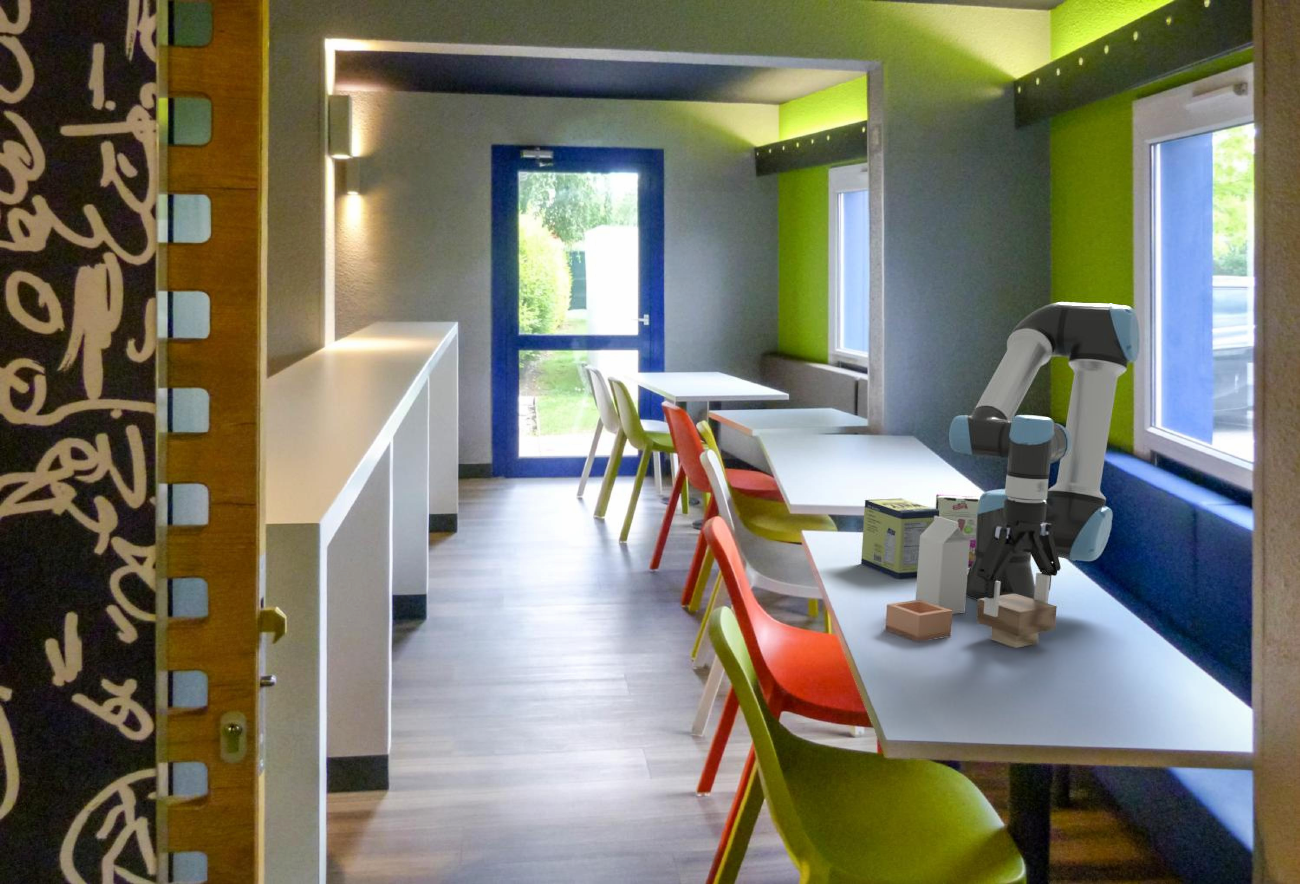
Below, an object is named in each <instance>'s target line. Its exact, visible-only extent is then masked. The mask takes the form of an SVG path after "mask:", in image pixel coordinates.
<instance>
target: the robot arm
mask: <svg viewBox="0 0 1300 884" xmlns="http://www.w3.org/2000/svg"><path fill="white" fill-rule="evenodd" d="M1139 353H1140V328H1139V320H1138V316H1137V313H1136V311H1135V310H1134V309H1133V308H1132V307H1131V306H1129V305H1121V304H1114V303H1087V302H1086V303H1084V302H1083V303H1082V302H1068V301H1065V302H1064V301H1060V302H1054V303H1050V304H1047V305H1044V306H1043V307H1041V308H1037V309H1036V310H1035V311H1033V312H1031V313H1030V314H1028V315H1027V316H1025V318H1023V319H1022V320H1021V321H1020V322H1019V323H1018V324H1017V325H1016V326H1015V327H1014V328H1013V330H1012V331H1011V333H1010V335H1009V337H1008V339H1007V340H1006V353H1004V356H1003V358H1002V359H1001V361H1000V363H999V365H998V367H997V368H996V370H995V372H994V373H993V376H992V377H991V378H990V380H989V383H988V384H987V386H986V388H985V389H984V391H983V393H982V395H981V397H980V399H979V401H978V402H977V404H976V406H975V408H974V409H973V411H972V412H971V414H970V415H968V414H964V415H961V414H960V415H957V416H955V417H954V418H953V419H952V421H951V424H950V427H949V431H948V432H949V433H948V438H949V439H948V441H949V446H950V448H951V449H952V450H953V451H954V452H955V453H960V454H964V455H965V454H966V455H970V456H978V457H986V458H987V457H989V458H990V457H991V458H996V459H997V458H998V459H999V458H1000V459H1001V458H1002V459H1007V467H1006V468H1007V470H1006V478H1005V486H1004V487H1005V488H1001V489H1000V488H999V489H993V490H988V491H985V492H983V493H982V494H981V495H980V496H979V497H980V499H979V507H978V511H977V528H976V542H975V555H974V560H973V562H972V565H971V567H969V569H968V575H967V588H966V597H969V598H971V599H974V600H977V601H978V599H981V598H985V602H984V614H987V615H990V616H994V617H998V607H999V596H1001V595H1007V594H1014V593H1015V594H1018V595H1021V596H1025V597H1028V598H1031V599H1035V600H1038V601H1041V602H1045V603H1048V604H1049V594H1050V590H1051V585H1052V583H1051V582H1052V576H1053V577H1056V576H1057V575H1058V571H1060V570H1061V562H1060V558H1062V559H1068V560H1070V561H1073V562H1074V561H1076V560H1077V561H1083V562H1092V561H1095V560H1097V559H1098V558H1099V557H1100V556H1101V555H1102V553H1103V552H1104V549H1105V548H1106V545H1107V543H1108V540H1109V537H1110V533H1111V531H1112V526H1113V523H1112V521H1113V517H1114V515H1113V510H1112V509H1111V508H1110V507H1108V506H1106V502H1107V498H1106V496H1104V494H1103V493H1102V492H1101V483H1102V479H1103V478H1102V477H1103V472H1104V471H1103V470H1104V465H1105V459H1106V453H1107V448H1108V447H1107V445H1108V440H1109V435H1110V434H1109V433H1110V428H1111V422H1112V421H1111V419H1112V415H1113V414H1112V413H1113V407H1114V402H1115V395H1116V390H1117V383H1118V378H1119V377H1121V376H1122V375H1123V374H1124V373H1125V372H1127V370H1128V363H1134V362H1136V361H1137V359H1138V357H1139V356H1138V355H1139ZM1053 357H1054V358H1055V357H1062V358H1068V366H1069V367H1070V369H1071V370H1072V371H1073V373H1074V375H1073V380H1072V387H1071V392H1070V393H1071V394H1070V399H1069V403H1068V404H1069V405H1068V412H1067V417H1066V424H1065V427H1064V426H1063V425H1061V424H1060V423H1057V422H1056V423H1055V422H1054V420H1053V419H1052V418H1050V417H1048V416H1042V415H1032V414H1031V415H1030V414H1024V415H1023V414H1017V411H1018V409H1019V407H1020V406H1021V403H1022V402H1023V400H1024V397H1025V396H1026V394H1027V392H1028V390H1029V388H1030V387H1031V385H1032V384H1033V381H1034V379H1035V378H1036V376H1037V373H1038V372H1039V370H1040V368H1041V367H1042V366H1044V365H1046V364H1047V363H1048V362H1049V361H1050V359H1051V358H1053ZM1015 414H1017V415H1015ZM1056 462H1059V466H1058V472H1057V473H1058V474H1057V479H1056V483H1055V484H1054V485H1053V486H1051V487H1050V488H1049V478H1050V471H1051V464H1054V463H1056ZM1032 559H1033V561H1034V563H1035V564H1036V567H1037V569H1038V570H1039V572H1036V573H1035V580H1034V573H1033V570H1032V564H1031V563H1032V562H1031V560H1032Z"/></svg>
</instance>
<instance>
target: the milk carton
mask: <svg viewBox="0 0 1300 884" xmlns="http://www.w3.org/2000/svg"><path fill="white" fill-rule="evenodd" d="M958 524H959V523H958V522H955V521H952V520H948V519H945V518H941V517H938V516H934V521H933V523H932V524H931V525H930V526H929V527H928V528H927V529H926V530H925V531H924V532H923V533H922V534H921V535H920V544H919V558H918V572H917V578H916V587H915V589H916V590H915V600H923V601H926V602H929V603H932V604H935V605H938V606H941V607H944V608H947V609H950V610H953V612H952V615H957V614H965V610H966V599H967V595H966V588H967V575H968V572H969V567H968V562H969V549H970V540H969V539H968V538H967V537H966V536H965V535H964V534H963V533H962V531H961V530H960V528H959V527H958Z"/></svg>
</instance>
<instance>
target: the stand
mask: <svg viewBox="0 0 1300 884" xmlns="http://www.w3.org/2000/svg"><path fill="white" fill-rule="evenodd" d="M990 631H991V632H990V640H992V641H995V642H996V643H997V642H998V643H1001V644H1004V645H1006V646H1009V647H1012V648H1016V649H1017V648H1021V647H1027V646H1032V645H1038V641H1039V633H1034V634H1028V635H1023V636H1016V635H1013V634H1010V633H1007V632H1004V631H1001V630H998V629H995V628H992V627H991V630H990Z"/></svg>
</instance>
